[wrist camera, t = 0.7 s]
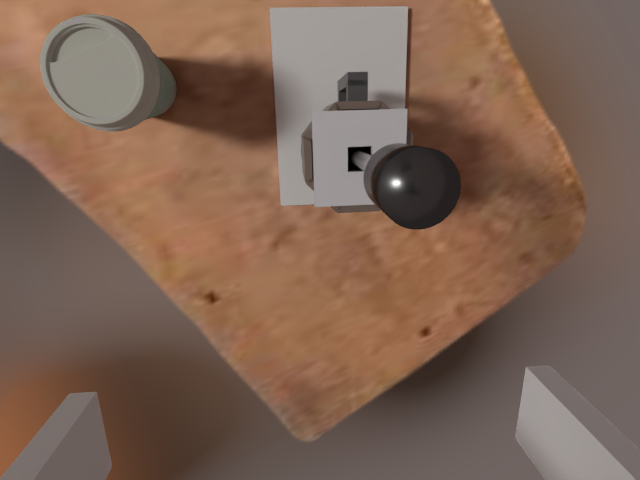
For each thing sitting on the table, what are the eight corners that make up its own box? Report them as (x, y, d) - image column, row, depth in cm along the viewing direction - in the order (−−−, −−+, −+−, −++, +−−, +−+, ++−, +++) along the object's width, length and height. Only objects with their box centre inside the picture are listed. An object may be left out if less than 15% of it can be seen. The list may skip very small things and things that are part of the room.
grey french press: (297, 85, 41) (301, 71, 30) (382, 83, 42) (417, 68, 30) (302, 191, 45) (306, 215, 33) (380, 188, 45) (412, 210, 34)
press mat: (269, 9, 40) (269, 7, 39) (406, 7, 40) (408, 6, 40) (281, 204, 45) (280, 205, 45) (400, 199, 46) (401, 200, 46)
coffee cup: (193, 50, 40) (155, 21, 29) (186, 136, 42) (148, 140, 31) (105, 33, 39) (29, -4, 28) (103, 121, 41) (32, 121, 30)
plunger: (336, 136, 32) (380, 149, 17) (379, 135, 33) (463, 146, 17) (336, 180, 33) (379, 231, 18) (378, 178, 34) (457, 227, 18)
